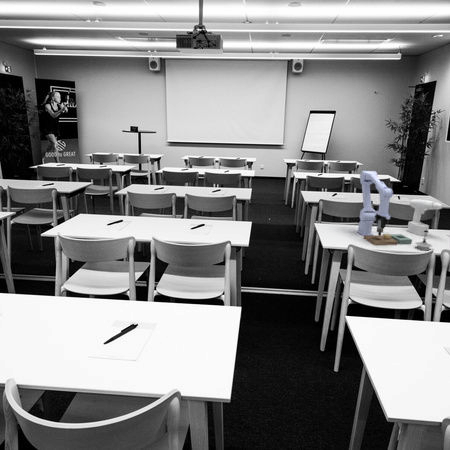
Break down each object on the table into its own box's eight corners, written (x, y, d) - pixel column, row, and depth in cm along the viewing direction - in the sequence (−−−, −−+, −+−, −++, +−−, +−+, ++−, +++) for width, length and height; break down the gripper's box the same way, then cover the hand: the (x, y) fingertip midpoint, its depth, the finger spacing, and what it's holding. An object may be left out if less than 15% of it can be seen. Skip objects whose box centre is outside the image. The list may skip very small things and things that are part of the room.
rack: (388, 238, 273) (389, 234, 272) (400, 238, 275) (401, 234, 274) (399, 244, 262) (399, 239, 261) (411, 243, 264) (412, 239, 263)
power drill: (431, 239, 276) (438, 204, 269) (402, 230, 296) (408, 196, 289) (439, 238, 279) (446, 203, 273) (410, 229, 300) (416, 196, 293)
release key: (381, 240, 268) (382, 233, 267) (387, 240, 269) (388, 233, 268) (385, 242, 264) (386, 235, 263) (390, 242, 265) (391, 235, 264)
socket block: (363, 238, 271) (364, 235, 270) (385, 238, 274) (385, 235, 273) (374, 245, 258) (375, 242, 257) (397, 244, 261) (397, 241, 260)
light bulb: (421, 227, 259) (415, 229, 253) (437, 230, 252) (431, 233, 246) (418, 245, 262) (411, 247, 256) (434, 249, 255) (427, 252, 249)
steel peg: (375, 230, 265) (377, 219, 263) (380, 230, 266) (382, 219, 264) (378, 232, 261) (380, 220, 259) (384, 232, 262) (386, 220, 260)
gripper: (395, 209, 253) (392, 230, 257) (383, 204, 267) (380, 224, 270) (385, 209, 252) (382, 230, 255) (373, 204, 265) (370, 224, 269)
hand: (380, 227), depth 263 cm, fingers closed on steel peg, 4 cm apart
